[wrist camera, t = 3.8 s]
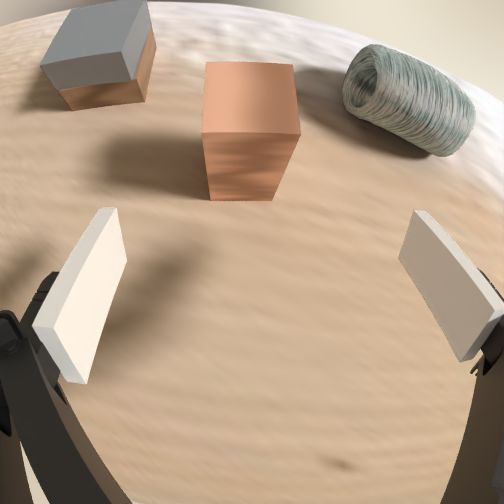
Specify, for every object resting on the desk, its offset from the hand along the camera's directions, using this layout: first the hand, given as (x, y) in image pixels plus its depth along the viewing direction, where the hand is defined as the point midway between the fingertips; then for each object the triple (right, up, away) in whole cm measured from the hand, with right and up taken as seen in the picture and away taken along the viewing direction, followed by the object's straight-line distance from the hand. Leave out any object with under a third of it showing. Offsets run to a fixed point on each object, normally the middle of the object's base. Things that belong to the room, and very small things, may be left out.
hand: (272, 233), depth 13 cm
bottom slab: (-15, +17, +14) cm, 27 cm away
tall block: (-2, +6, +13) cm, 14 cm away
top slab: (-15, +18, +10) cm, 26 cm away
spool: (+14, +13, +16) cm, 25 cm away
